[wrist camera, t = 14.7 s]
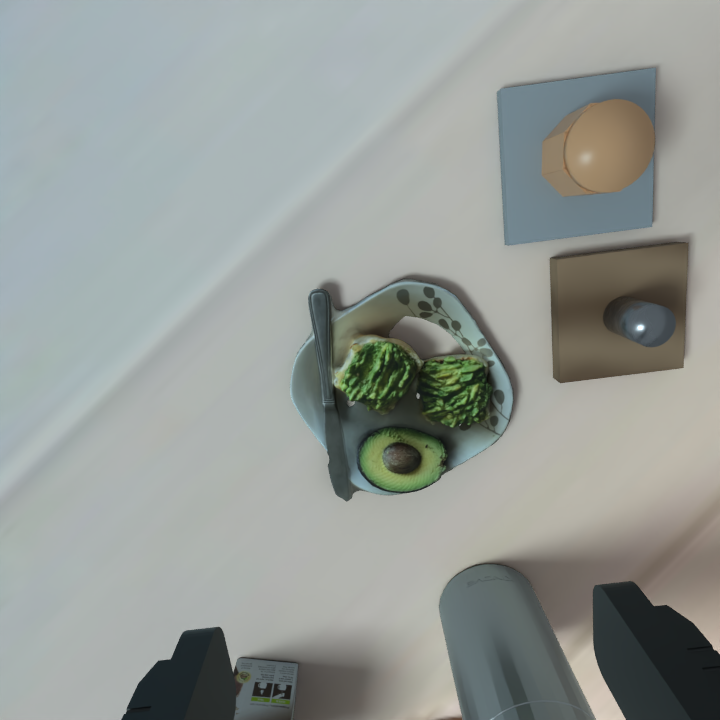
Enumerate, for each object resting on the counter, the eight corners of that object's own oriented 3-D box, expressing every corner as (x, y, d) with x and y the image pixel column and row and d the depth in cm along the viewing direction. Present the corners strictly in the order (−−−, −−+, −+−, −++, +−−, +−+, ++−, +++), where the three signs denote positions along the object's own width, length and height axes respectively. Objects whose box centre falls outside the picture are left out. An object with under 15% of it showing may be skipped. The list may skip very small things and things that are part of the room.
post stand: (672, 363, 43) (721, 385, 37) (553, 377, 43) (584, 401, 37) (676, 242, 40) (730, 245, 35) (549, 258, 41) (582, 264, 35)
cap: (620, 111, 37) (658, 96, 32) (615, 193, 38) (651, 189, 34) (543, 117, 37) (570, 102, 32) (540, 198, 38) (566, 194, 34)
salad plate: (233, 339, 42) (219, 352, 38) (418, 220, 40) (427, 220, 36) (357, 513, 47) (357, 544, 42) (530, 416, 45) (550, 437, 40)
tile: (645, 226, 40) (652, 226, 39) (504, 244, 40) (508, 245, 39) (647, 71, 37) (655, 67, 36) (497, 92, 37) (500, 88, 36)
